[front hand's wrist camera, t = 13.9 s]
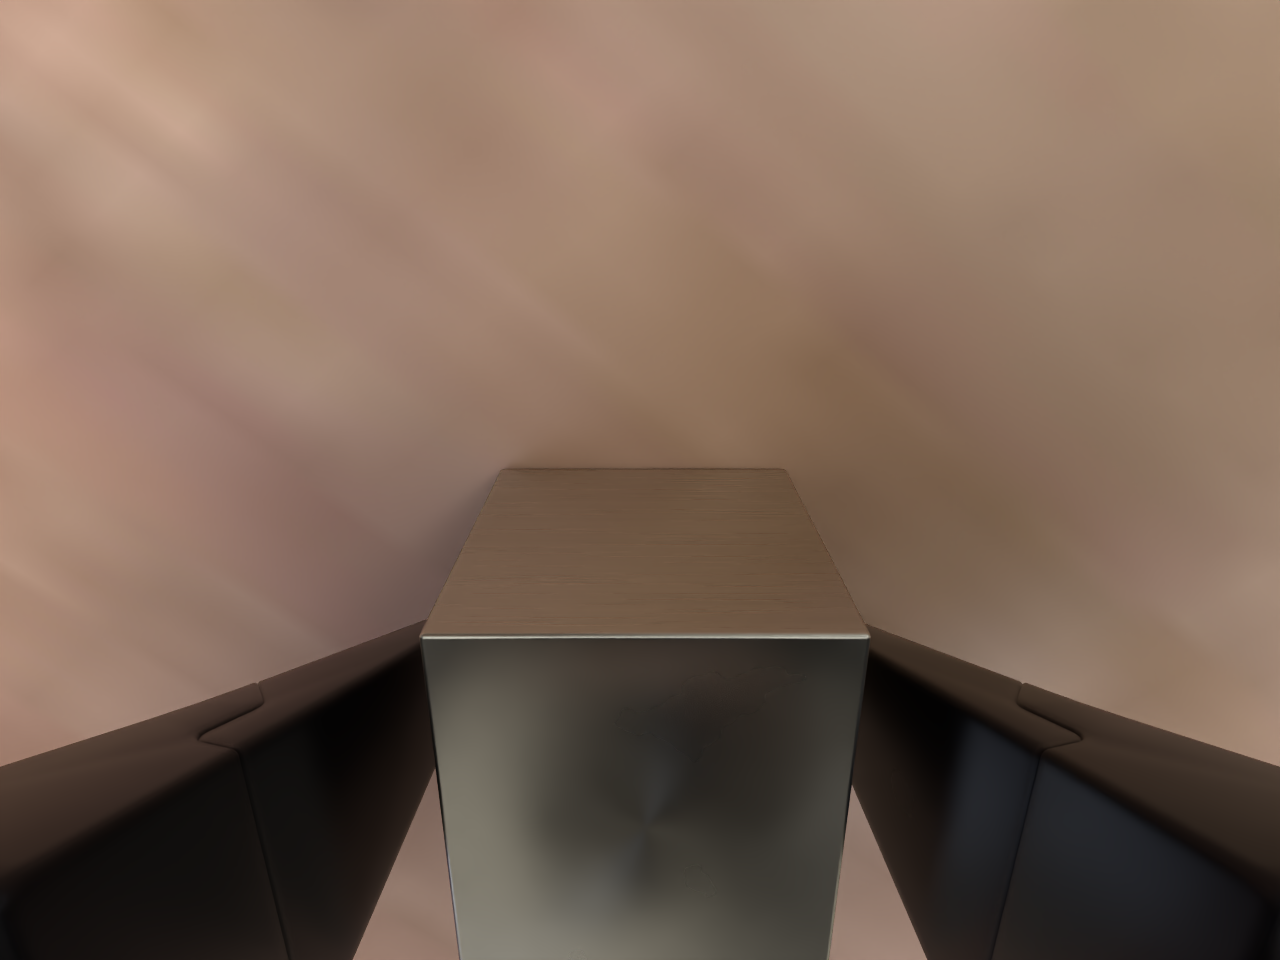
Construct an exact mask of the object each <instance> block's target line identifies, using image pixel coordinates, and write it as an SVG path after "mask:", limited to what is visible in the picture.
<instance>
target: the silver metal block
mask: <svg viewBox="0 0 1280 960" xmlns="http://www.w3.org/2000/svg"><path fill="white" fill-rule="evenodd" d="M419 638H420V646H421V654H422V662H423V670H424V678H425V686H426V695H427V703H428V711H429V719H430V727H431V735H432V743H433V751H434V759H435V767H436V775H437V783H438V791H439V799H440V807H441V815H442V823H443V831H444V840H445V848H446V856H447V864H448V872H449V880H450V888H451V896H452V904H453V912H454V920H455V928H456V936H457V944H458V952H459V960H829V955H830V947H831V939H832V932H833V924H834V916H835V909H836V901H837V893H838V885H839V878H840V870H841V862H842V855H843V847H844V839H845V831H846V824H847V816H848V808H849V801H850V793H851V785H852V778H853V770H854V762H855V754H856V747H857V739H858V731H859V724H860V716H861V708H862V700H863V693H864V685H865V677H866V670H867V662H868V654H869V647H870V639H871V636H870V633H869V631H868V629H867V627H866V625H865V623H864V621H863V619H862V618H861V616H860V614H859V612H858V610H857V608H856V606H855V604H854V602H853V600H852V598H851V596H850V594H849V592H848V590H847V588H846V586H845V584H844V583H843V581H842V579H841V577H840V575H839V573H838V571H837V569H836V567H835V565H834V563H833V561H832V559H831V557H830V555H829V553H828V551H827V549H826V548H825V546H824V544H823V542H822V540H821V538H820V536H819V534H818V532H817V530H816V528H815V526H814V524H813V522H812V520H811V518H810V516H809V514H808V513H807V511H806V509H805V507H804V505H803V503H802V501H801V499H800V497H799V495H798V493H797V491H796V489H795V487H794V485H793V483H792V481H791V479H790V478H789V476H788V474H787V472H786V470H784V469H503V470H501V471H500V473H499V476H498V478H497V480H496V482H495V484H494V486H493V488H492V490H491V492H490V494H489V496H488V498H487V500H486V502H485V504H484V506H483V508H482V510H481V512H480V514H479V516H478V518H477V520H476V522H475V524H474V526H473V528H472V530H471V532H470V534H469V536H468V538H467V540H466V542H465V544H464V546H463V548H462V550H461V552H460V554H459V556H458V558H457V560H456V562H455V564H454V566H453V568H452V570H451V572H450V574H449V576H448V579H447V581H446V583H445V585H444V587H443V589H442V591H441V593H440V595H439V597H438V599H437V601H436V603H435V605H434V607H433V609H432V611H431V613H430V615H429V617H428V619H427V621H426V623H425V625H424V627H423V629H422V631H421V633H420V636H419Z"/></svg>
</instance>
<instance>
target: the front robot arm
mask: <svg viewBox="0 0 1280 960" xmlns="http://www.w3.org/2000/svg"><path fill="white" fill-rule="evenodd" d="M426 621H427V619H426V620H424V621H421V622H418V623H416V624H413V625H410V626H408V627H405V628H402V629H400V630H397V631H394V632H392V633H389V634H386V635H384V636H381V637H378V638H376V639H373V640H370V641H367V642H365V643H362V644H359V645H357V646H354V647H351V648H349V649H346V650H343V651H341V652H338V653H335V654H333V655H330V656H327V657H325V658H322V659H319V660H317V661H314V662H311V663H308V664H306V665H303V666H300V667H298V668H295V669H292V670H290V671H287V672H284V673H282V674H279V675H276V676H274V677H271V678H268V679H266V680H263V681H260V682H259V683H258V685H257V684H256V683H252V684H249V685H247V686H244V687H241V688H239V689H236V690H233V691H231V692H228V693H225V694H222V695H219V696H216V697H214V698H211V699H208V700H205V701H202V702H200V703H197V704H194V705H191V706H188V707H185V708H182V709H179V710H176V711H173V712H170V713H167V714H164V715H161V716H158V717H155V718H151V719H148V720H145V721H142V722H139V723H136V724H133V725H130V726H126V727H123V728H120V729H117V730H114V731H111V732H108V733H105V734H101V735H98V736H95V737H92V738H89V739H86V740H83V741H79V742H76V743H73V744H70V745H67V746H64V747H61V748H58V749H54V750H51V751H48V752H45V753H42V754H39V755H36V756H33V757H29V758H26V759H23V760H20V761H17V762H14V763H11V764H8V765H4V766H1V767H0V960H353V957H354V955H355V953H356V950H357V948H358V946H359V944H360V941H361V939H362V937H363V934H364V932H365V930H366V927H367V925H368V923H369V920H370V918H371V916H372V913H373V911H374V909H375V906H376V904H377V902H378V899H379V897H380V895H381V892H382V890H383V888H384V885H385V883H386V881H387V878H388V876H389V874H390V871H391V869H392V867H393V864H394V862H395V860H396V857H397V855H398V853H399V850H400V848H401V846H402V844H403V841H404V839H405V837H406V834H407V832H408V830H409V827H410V825H411V823H412V820H413V818H414V816H415V813H416V811H417V809H418V806H419V804H420V802H421V799H422V797H423V795H424V792H425V790H426V788H427V785H428V783H429V781H430V778H431V776H432V774H433V771H434V769H435V759H434V751H433V743H432V735H431V727H430V719H429V711H428V703H427V695H426V686H425V678H424V670H423V662H422V654H421V646H420V638H419V636H420V633H421V631H422V629H423V627H424V625H425V623H426ZM865 625H866V627H867V629H868V631H869V633H870V636H871V639H870V647H869V654H868V662H867V670H866V677H865V685H864V693H863V700H862V708H861V716H860V724H859V731H858V739H857V747H856V754H855V762H854V770H853V778H852V785H853V788H854V790H855V792H856V795H857V797H858V799H859V802H860V804H861V806H862V809H863V811H864V813H865V816H866V818H867V820H868V823H869V825H870V827H871V830H872V832H873V834H874V837H875V839H876V841H877V844H878V846H879V848H880V851H881V853H882V855H883V858H884V860H885V862H886V865H887V867H888V869H889V872H890V874H891V876H892V879H893V881H894V883H895V886H896V888H897V890H898V892H899V895H900V897H901V899H902V902H903V904H904V906H905V909H906V911H907V913H908V916H909V918H910V920H911V923H912V925H913V927H914V930H915V932H916V934H917V937H918V939H919V941H920V944H921V946H922V948H923V951H924V953H925V955H926V958H927V960H1280V767H1279V766H1276V765H1272V764H1269V763H1266V762H1263V761H1260V760H1257V759H1254V758H1250V757H1247V756H1244V755H1241V754H1238V753H1235V752H1232V751H1229V750H1225V749H1222V748H1219V747H1216V746H1213V745H1210V744H1207V743H1204V742H1200V741H1197V740H1194V739H1191V738H1188V737H1185V736H1182V735H1179V734H1175V733H1172V732H1169V731H1166V730H1163V729H1160V728H1157V727H1153V726H1150V725H1147V724H1144V723H1141V722H1138V721H1135V720H1132V719H1128V718H1125V717H1122V716H1119V715H1116V714H1113V713H1110V712H1107V711H1104V710H1101V709H1098V708H1095V707H1092V706H1089V705H1086V704H1083V703H1080V702H1077V701H1075V700H1072V699H1069V698H1066V697H1063V696H1061V695H1058V694H1055V693H1052V692H1049V691H1047V690H1044V689H1041V688H1039V687H1036V686H1033V685H1030V684H1028V683H1024V684H1022V683H1021V682H1020V681H1017V680H1014V679H1012V678H1009V677H1006V676H1004V675H1001V674H998V673H996V672H993V671H990V670H988V669H985V668H982V667H980V666H977V665H974V664H971V663H969V662H966V661H963V660H961V659H958V658H955V657H953V656H950V655H947V654H945V653H942V652H939V651H937V650H934V649H931V648H929V647H926V646H923V645H921V644H918V643H915V642H912V641H910V640H907V639H904V638H902V637H899V636H896V635H894V634H891V633H888V632H886V631H883V630H880V629H878V628H875V627H872V626H870V625H867V624H865Z"/></svg>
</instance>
